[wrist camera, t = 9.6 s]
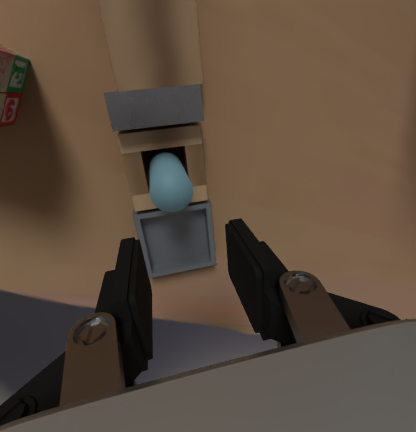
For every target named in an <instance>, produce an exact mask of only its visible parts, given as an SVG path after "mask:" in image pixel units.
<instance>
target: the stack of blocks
mask: <svg viewBox="0 0 416 432" xmlns="http://www.w3.org/2000/svg"><path fill="white" fill-rule="evenodd" d="M29 63H30V60H29V59H28V58H26V57H24V56H22V55H20V54H18V53H16V52H14V51H12V50H10V49H8V48H6V47H4V46H2V45H1V44H0V127H2V126H6V125H12V124H14V123H15V119H16V115H17V111H18V108H19V103H20V99H21V96H22V89H23V85H24V81H25V78H26V74H27V70H28V66H29Z"/></svg>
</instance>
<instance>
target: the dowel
mask: <svg viewBox="0 0 416 432" xmlns="http://www.w3.org/2000/svg"><path fill="white" fill-rule="evenodd" d="M150 197H151V200H152V202H153V204H154V205H155V206H156V207H157V208H159V209H160V210H162V211H165V212H177V211H180V210H182V209H184V208H185V207H186V206H187V205H188V204H189V203H190V202H191V200H192V197H193V186H192V183H191V181H190V179H189V177H188V175H187V173H186V171H185V169H184V167H183V165H182V163H181V161H180V159H179V157H178V156H177V154H176V153H175V152H174V151H172V150H170V149H167V148H163V149H158V150H157V151H155V152H154V153H153V154H152V156H151V158H150Z"/></svg>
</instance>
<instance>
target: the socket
mask: <svg viewBox="0 0 416 432" xmlns="http://www.w3.org/2000/svg"><path fill="white" fill-rule="evenodd" d="M117 136H118V140H119V145H120V149H121V153H122V157H123V162H124V166H125V170H126V174H127V179H128V183H129V187H130V191H131V196H132V200H133V204H134V208H135V212H136V211H142V210H149V209H155V208H157V207H156V206H155V205H154V204H153V202H152V200H151V197H150V185H149V182H148V177H147V172H146V167H145V162H144V157H143V152H142V151H148V150H156V149H163V148H171V147H179V146H182V149H183V157H184V164H185V171H186V173H187V175H188V177H189V179H190V181H191V183H192V186H193V197H192V200H191V202H190V203H192V202H198V201H204V200H208V197H207V187H206V176H205V166H204V155H203V145H202V135H201V125H200V124H198V123H196V122H195V123H186V124H177V125H169V126H160V127H151V128H143V129H134V130H125V131H120V132H119V133H118V134H117Z"/></svg>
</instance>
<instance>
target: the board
mask: <svg viewBox="0 0 416 432" xmlns="http://www.w3.org/2000/svg"><path fill="white" fill-rule="evenodd" d="M98 4H99V8H100V13H101V17H102V22H103V26H104V31H105V35H106V40H107V44H108V49H109V53H110V58H111V62H112V66H113V71H114V75H115V80H116V84H117V89H118V92H119V91H130V90H141V89H151V88H162V87H173V86H184V85H195V84H201V85H202V84H203V74H202V63H201V52H200V41H199V29H198V18H197V7H196V0H98Z"/></svg>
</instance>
